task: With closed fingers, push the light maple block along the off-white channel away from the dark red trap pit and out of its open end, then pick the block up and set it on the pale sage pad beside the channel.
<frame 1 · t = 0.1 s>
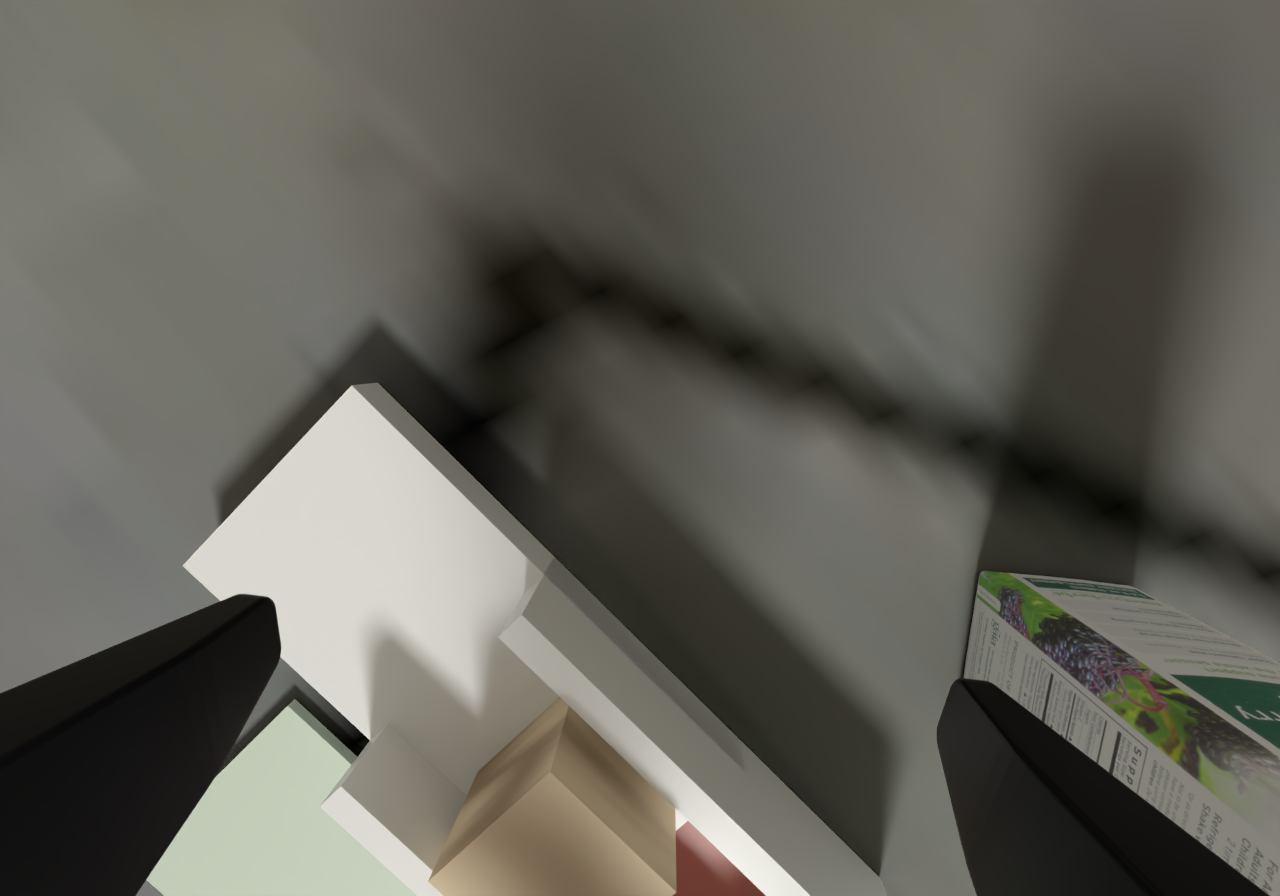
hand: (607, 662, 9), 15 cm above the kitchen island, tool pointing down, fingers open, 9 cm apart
trap channel: (619, 777, 26), on the kitchen island
syrup box: (1039, 648, 25), on the kitchen island
maple block: (575, 774, 24), point 2 cm above the kitchen island, touching trap channel
sage pad: (306, 861, 27), on the kitchen island
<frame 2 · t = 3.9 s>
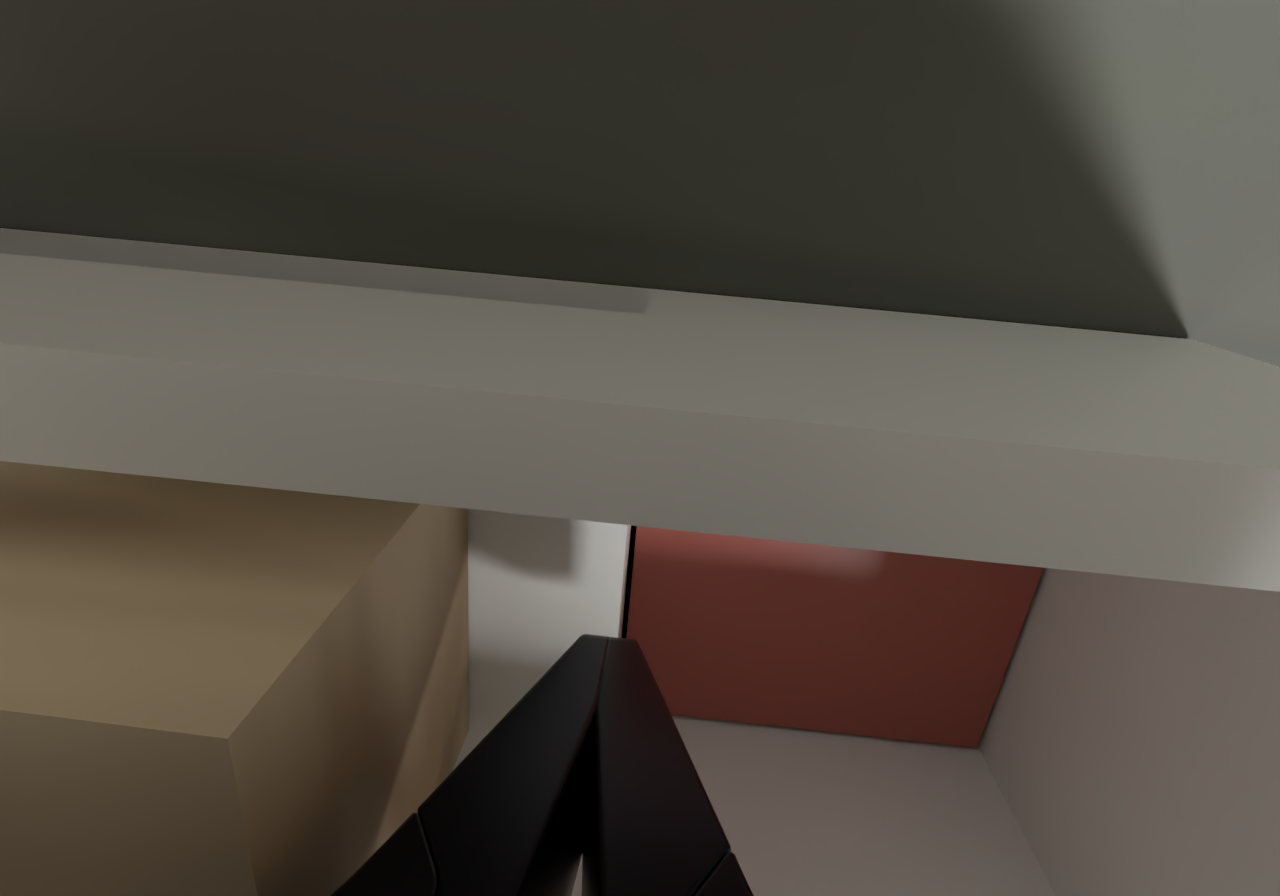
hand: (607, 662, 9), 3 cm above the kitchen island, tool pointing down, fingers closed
trap channel: (517, 535, 12), on the kitchen island
maple block: (303, 581, 10), point 2 cm above the kitchen island, touching gripper
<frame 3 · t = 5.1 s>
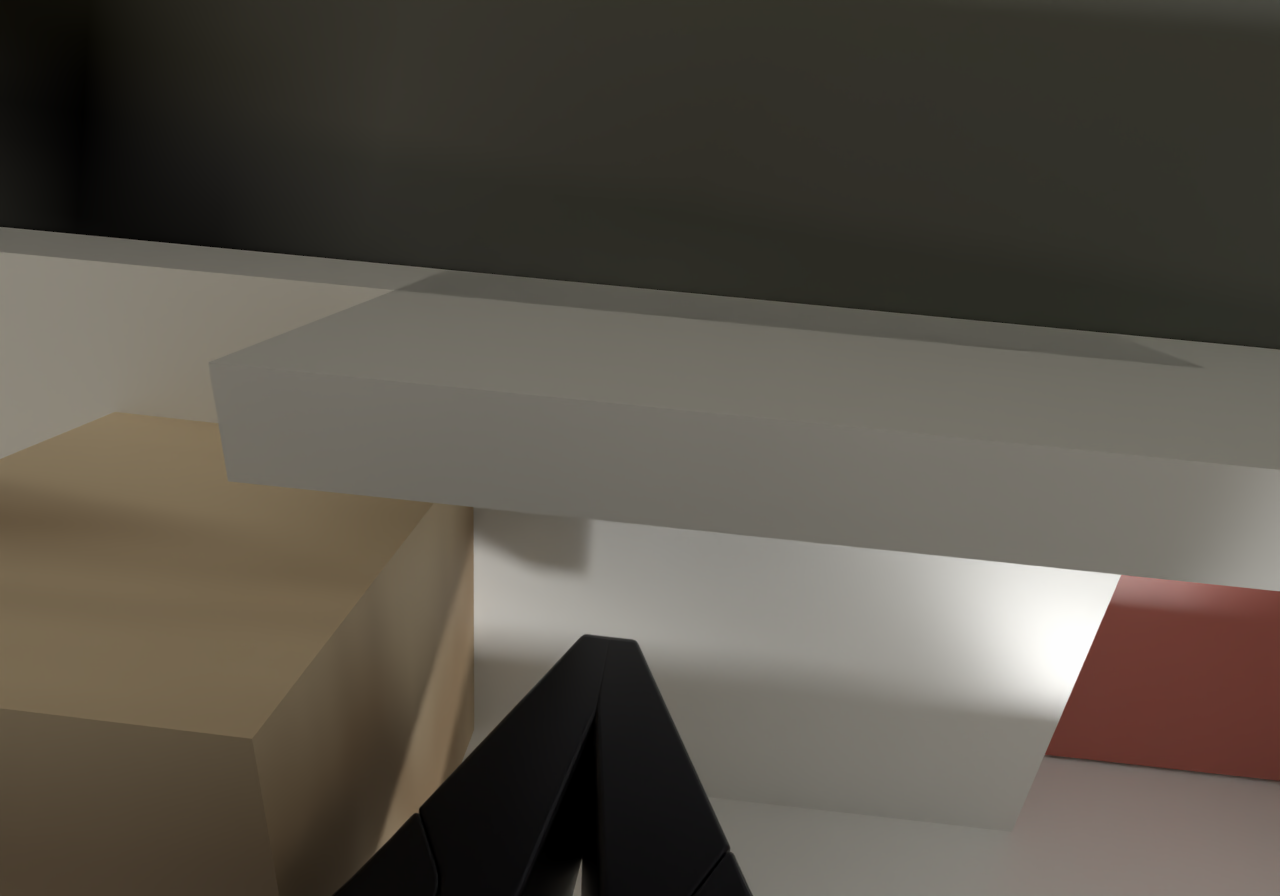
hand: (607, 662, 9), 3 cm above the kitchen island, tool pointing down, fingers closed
trap channel: (904, 575, 12), on the kitchen island
maple block: (310, 585, 10), point 2 cm above the kitchen island, touching gripper
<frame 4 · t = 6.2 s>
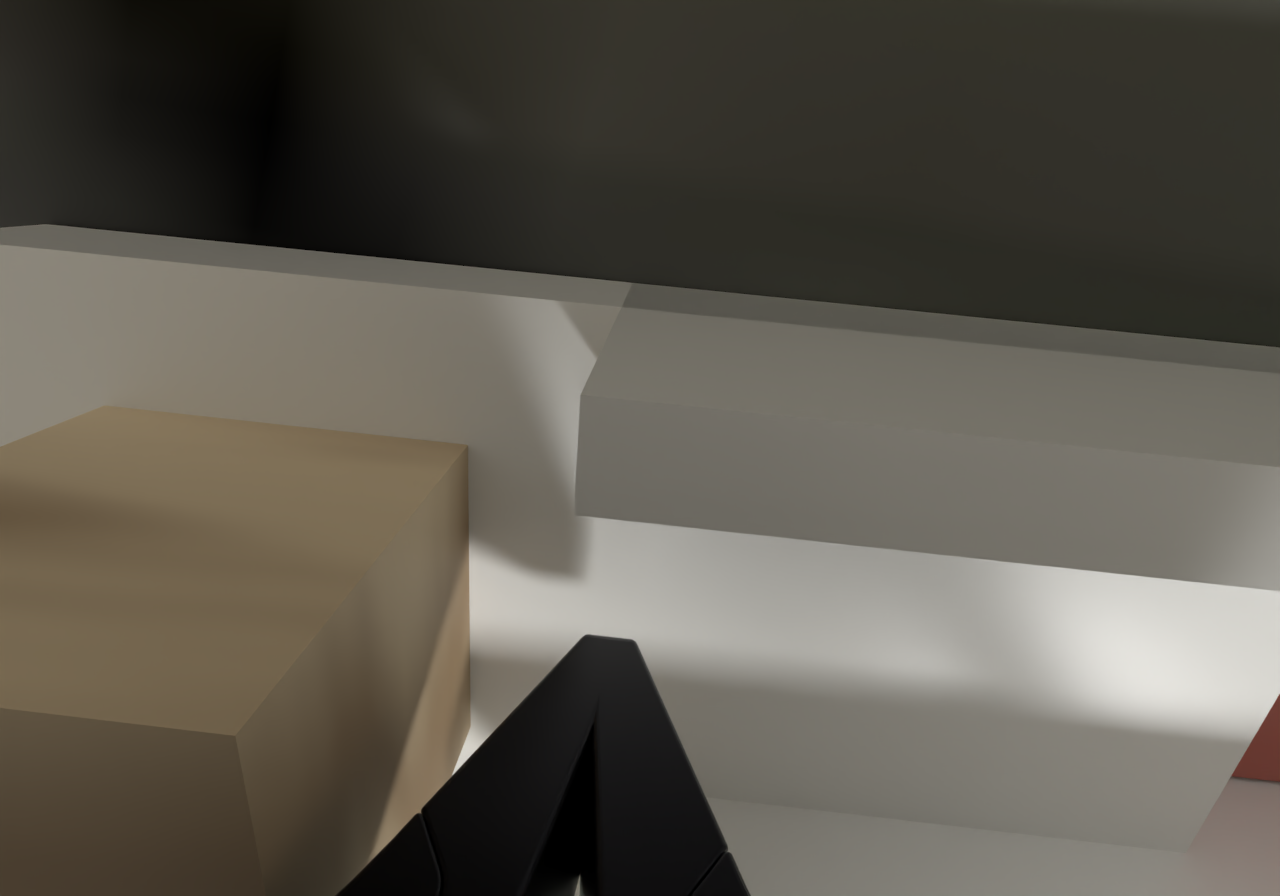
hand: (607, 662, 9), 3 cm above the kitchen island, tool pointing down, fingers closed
trap channel: (1069, 592, 11), on the kitchen island
maple block: (304, 580, 10), point 2 cm above the kitchen island, touching gripper, trap channel
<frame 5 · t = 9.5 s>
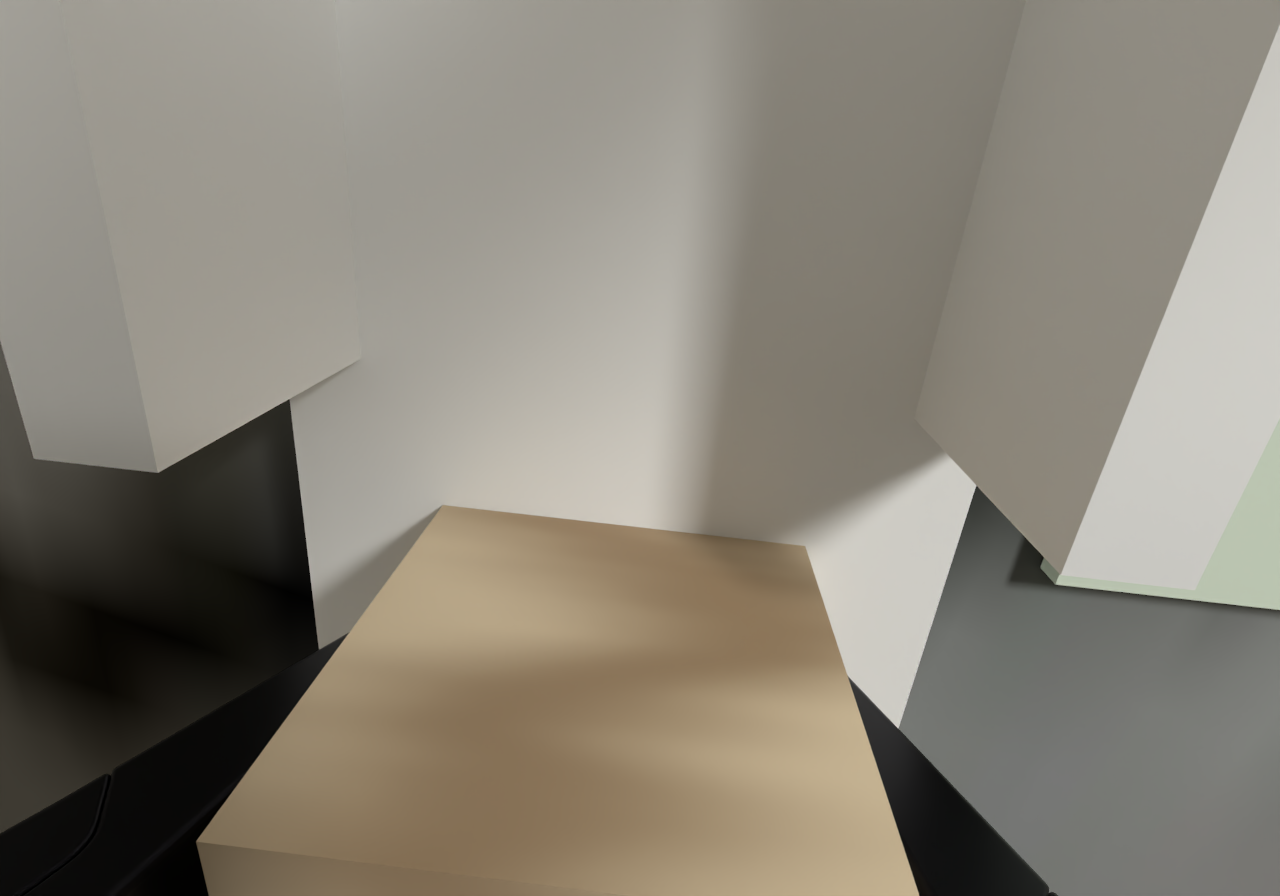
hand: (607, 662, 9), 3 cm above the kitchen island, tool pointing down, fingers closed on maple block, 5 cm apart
maple block: (609, 669, 10), point 2 cm above the kitchen island, touching gripper, trap channel
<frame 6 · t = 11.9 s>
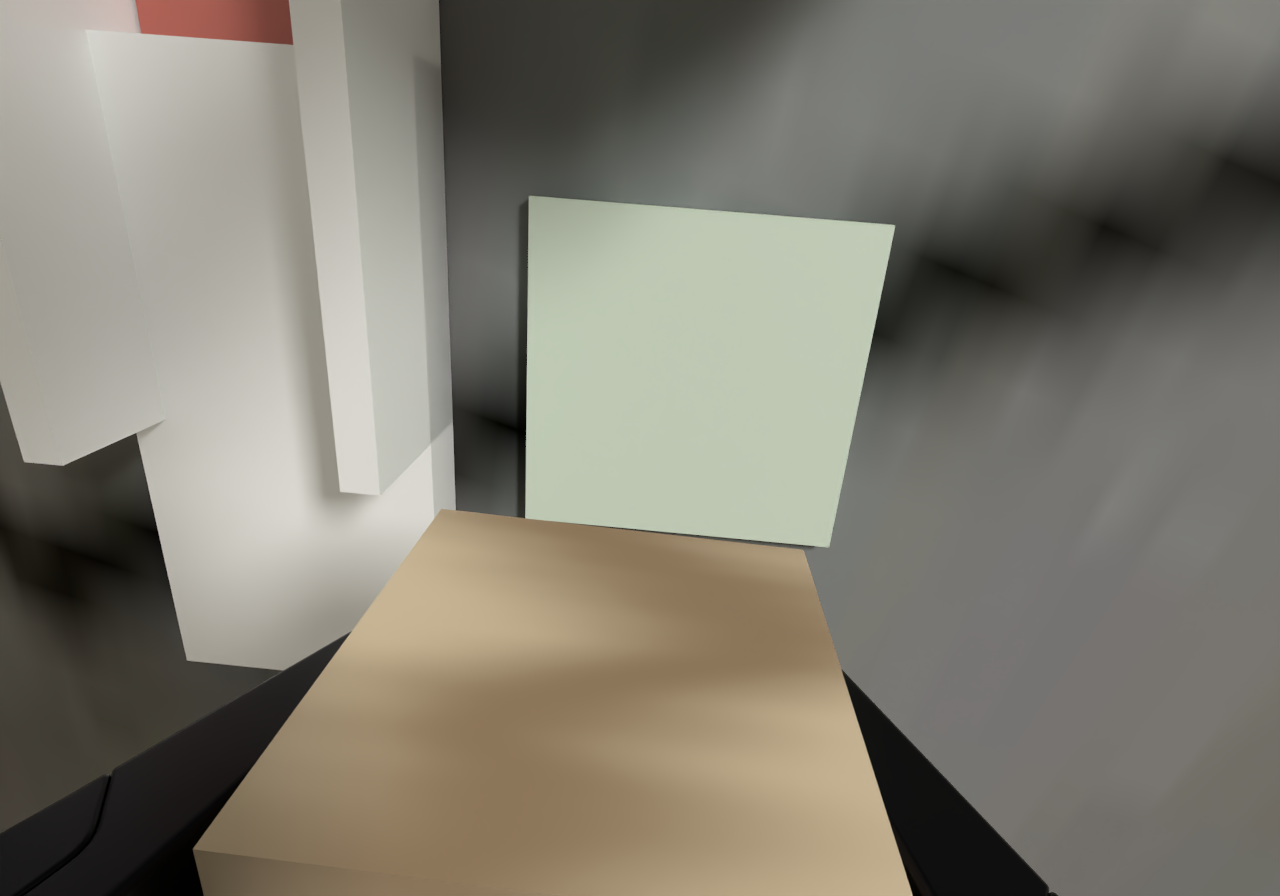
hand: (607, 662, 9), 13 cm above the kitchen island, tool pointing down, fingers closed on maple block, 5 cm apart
trap channel: (284, 137, 18), on the kitchen island
maple block: (607, 672, 10), point 12 cm above the kitchen island, touching gripper
sage pad: (691, 382, 20), on the kitchen island
when the fingers open (3 cm above the kitchen island, at t = 14.2 s): maple block drops 2 cm, resting on sage pad.
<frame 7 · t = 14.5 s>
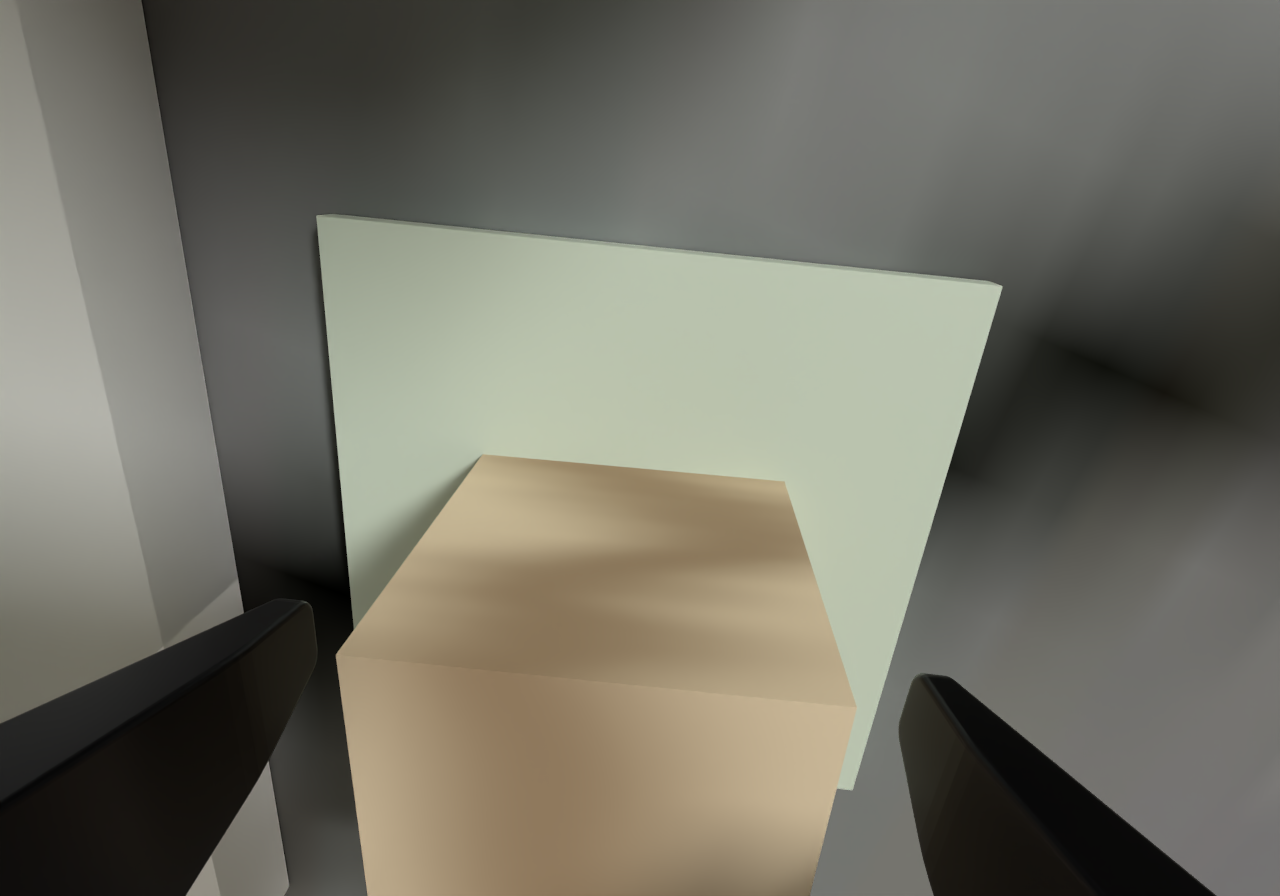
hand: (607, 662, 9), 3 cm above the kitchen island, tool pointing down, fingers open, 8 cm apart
maple block: (623, 594, 12), resting on sage pad
sage pad: (628, 533, 12), on the kitchen island
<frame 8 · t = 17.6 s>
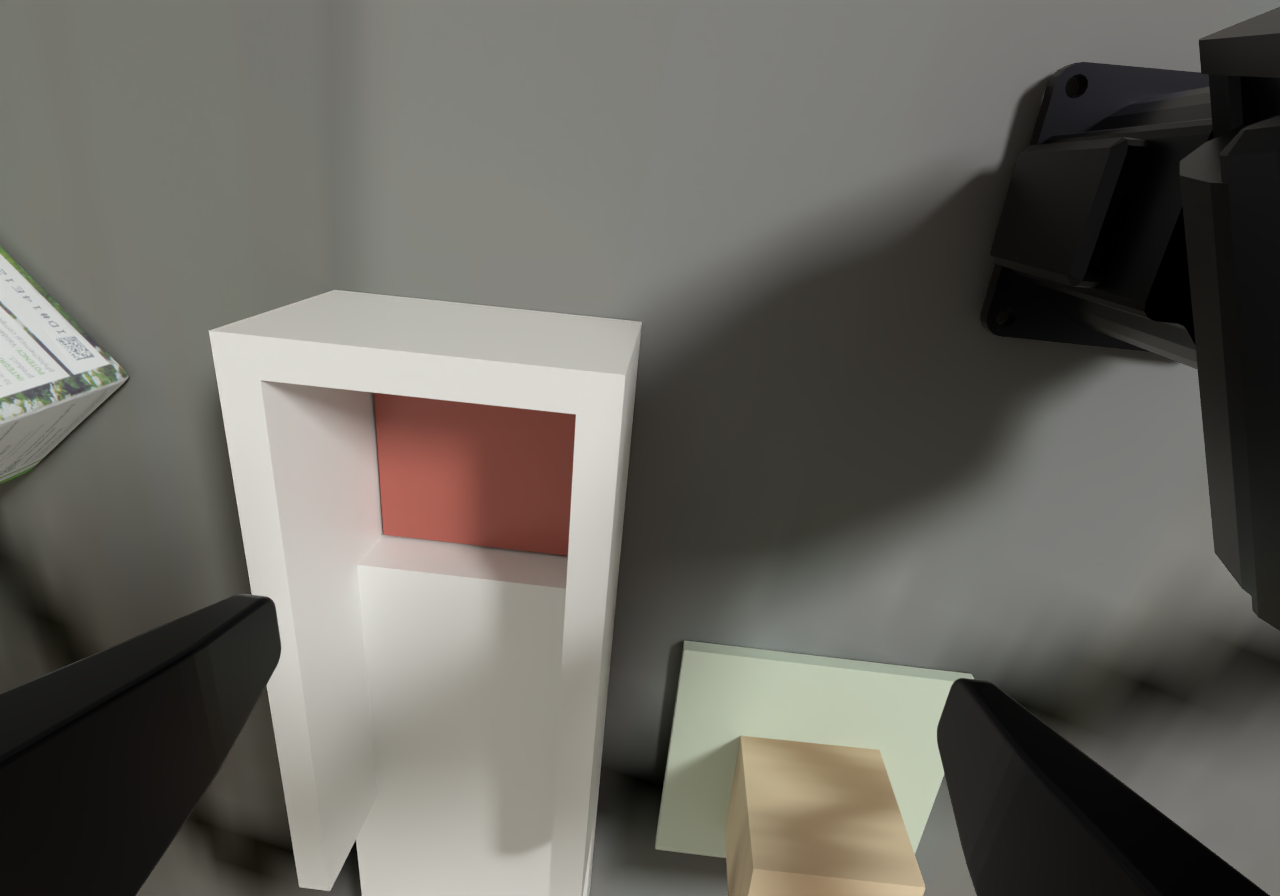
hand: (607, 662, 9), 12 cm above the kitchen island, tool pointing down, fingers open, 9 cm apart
trap channel: (486, 593, 23), on the kitchen island
syrup box: (20, 350, 21), on the kitchen island
maple block: (798, 792, 25), resting on sage pad
sage pad: (800, 762, 25), on the kitchen island
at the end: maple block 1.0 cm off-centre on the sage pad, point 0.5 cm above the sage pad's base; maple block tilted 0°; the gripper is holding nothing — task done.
